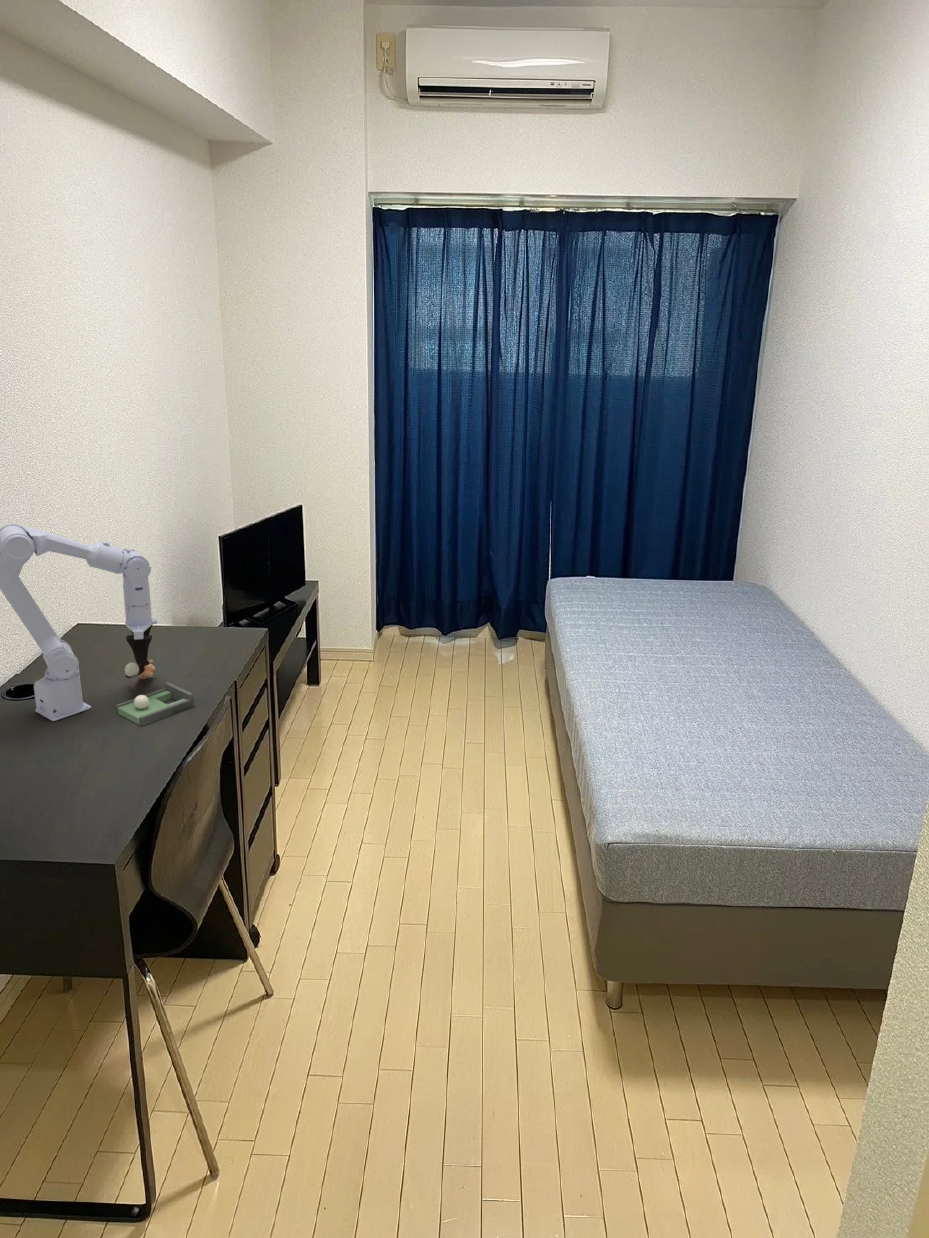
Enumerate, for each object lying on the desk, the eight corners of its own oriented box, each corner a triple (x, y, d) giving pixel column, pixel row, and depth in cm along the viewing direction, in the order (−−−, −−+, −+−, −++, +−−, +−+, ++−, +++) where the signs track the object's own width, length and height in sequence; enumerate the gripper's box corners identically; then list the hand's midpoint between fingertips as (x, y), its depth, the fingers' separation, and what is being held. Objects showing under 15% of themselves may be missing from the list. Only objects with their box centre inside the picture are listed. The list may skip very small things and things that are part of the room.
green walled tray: (141, 726, 203) (140, 713, 202) (116, 713, 209) (115, 700, 207) (194, 706, 213) (193, 693, 212) (169, 694, 219) (168, 682, 218)
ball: (139, 712, 206) (138, 699, 205) (131, 708, 207) (130, 695, 206) (152, 708, 208) (151, 695, 207) (144, 703, 210) (143, 691, 209)
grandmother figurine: (142, 686, 227) (123, 687, 214) (132, 675, 227) (112, 676, 214) (164, 664, 227) (147, 664, 214) (154, 653, 227) (135, 653, 214)
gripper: (155, 612, 205) (159, 667, 210) (156, 592, 218) (160, 645, 223) (122, 614, 203) (127, 669, 208) (124, 594, 216) (129, 647, 221)
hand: (142, 657), depth 215 cm, fingers open, 7 cm apart
